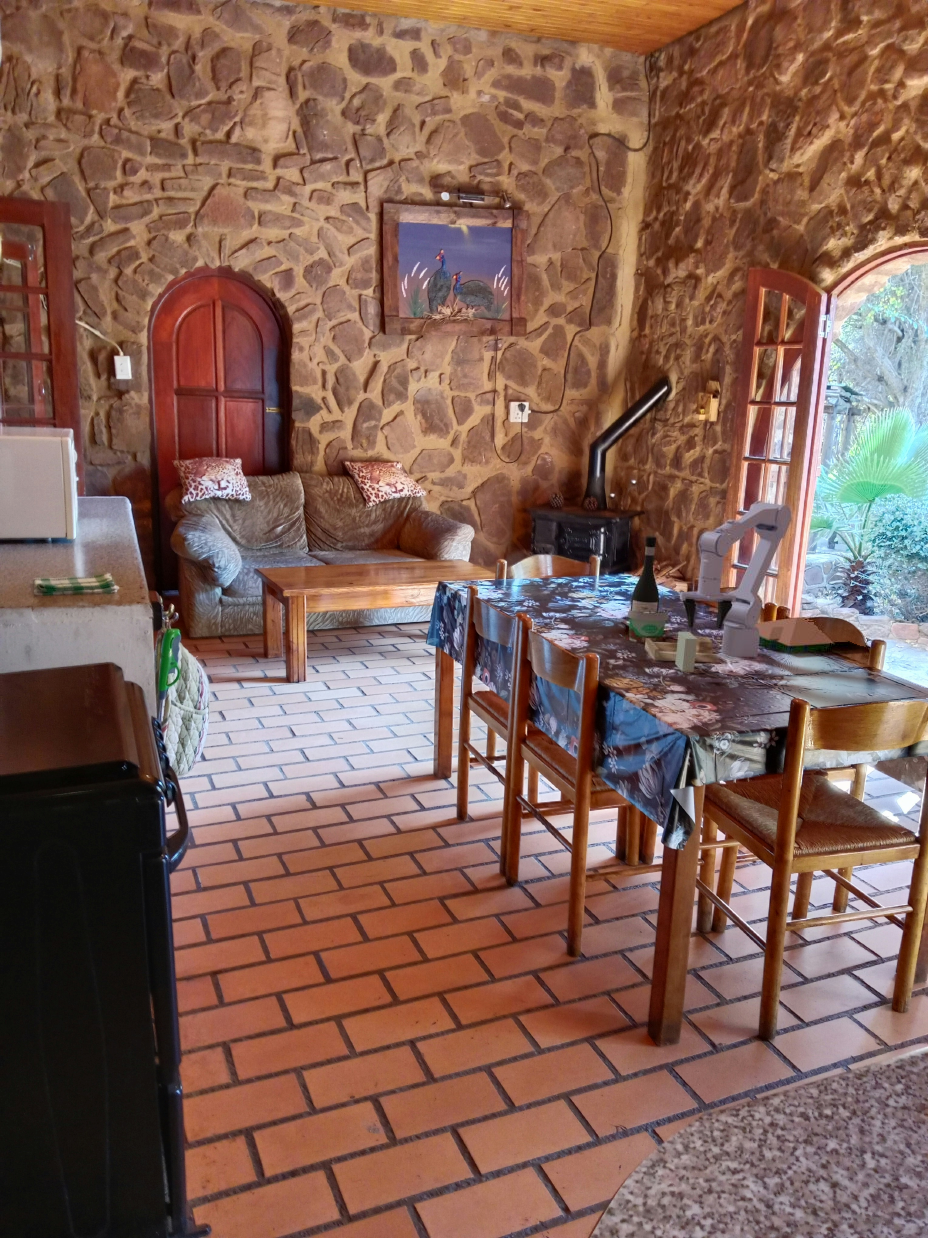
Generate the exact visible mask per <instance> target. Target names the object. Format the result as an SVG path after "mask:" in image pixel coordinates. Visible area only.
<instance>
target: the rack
mask: <svg viewBox="0 0 928 1238" xmlns="http://www.w3.org/2000/svg"><path fill="white" fill-rule="evenodd" d="M677 643H678V642H666V641H665V642H664V641H661V642H652V641H651V640H650V639H649V638H646V642H645V644H644V650H645V651H646V652H647V653H648V654H649V656H650V657H651V658H652V660H654V661H666V662H667V661H668V662H669V661H670V662H671V661H673V662H676V652H677ZM695 662H703V663H720V661H719V660H718V654H717V653H713V654H702V653H696V654H695Z"/></svg>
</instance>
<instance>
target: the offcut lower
mask: <svg viewBox="0 0 928 1238" xmlns="http://www.w3.org/2000/svg"><path fill="white" fill-rule="evenodd" d="M696 653H702V654H714V650H713V649H712V650H699V649H698V648H697V647H696Z"/></svg>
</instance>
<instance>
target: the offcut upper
mask: <svg viewBox="0 0 928 1238" xmlns="http://www.w3.org/2000/svg"><path fill="white" fill-rule="evenodd" d="M695 637H696V638H697V645H696V647H697V648H698V649H699V650H713V641H712V640H711V639H710V638H709V637H708V636H695Z"/></svg>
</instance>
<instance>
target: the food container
mask: <svg viewBox="0 0 928 1238" xmlns="http://www.w3.org/2000/svg"><path fill="white" fill-rule="evenodd" d="M626 616H627V617H628V618H629V619H628V621H629V622H628V624H629V626H628V637H629V638H628V639H629V641H632V642H634V643H638V644H644V645H645V642H646V638H649V639H650V640H651V641H652V642H663V641H662V640H663V636H664V631H665V626H666V621H667V620H668V619H669V613H668V609H667V608H665V609H664V611H658V612H653V611H643V612H636V611H632V610H631V608H630V609H629V610H628V611H627V615H626Z"/></svg>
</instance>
